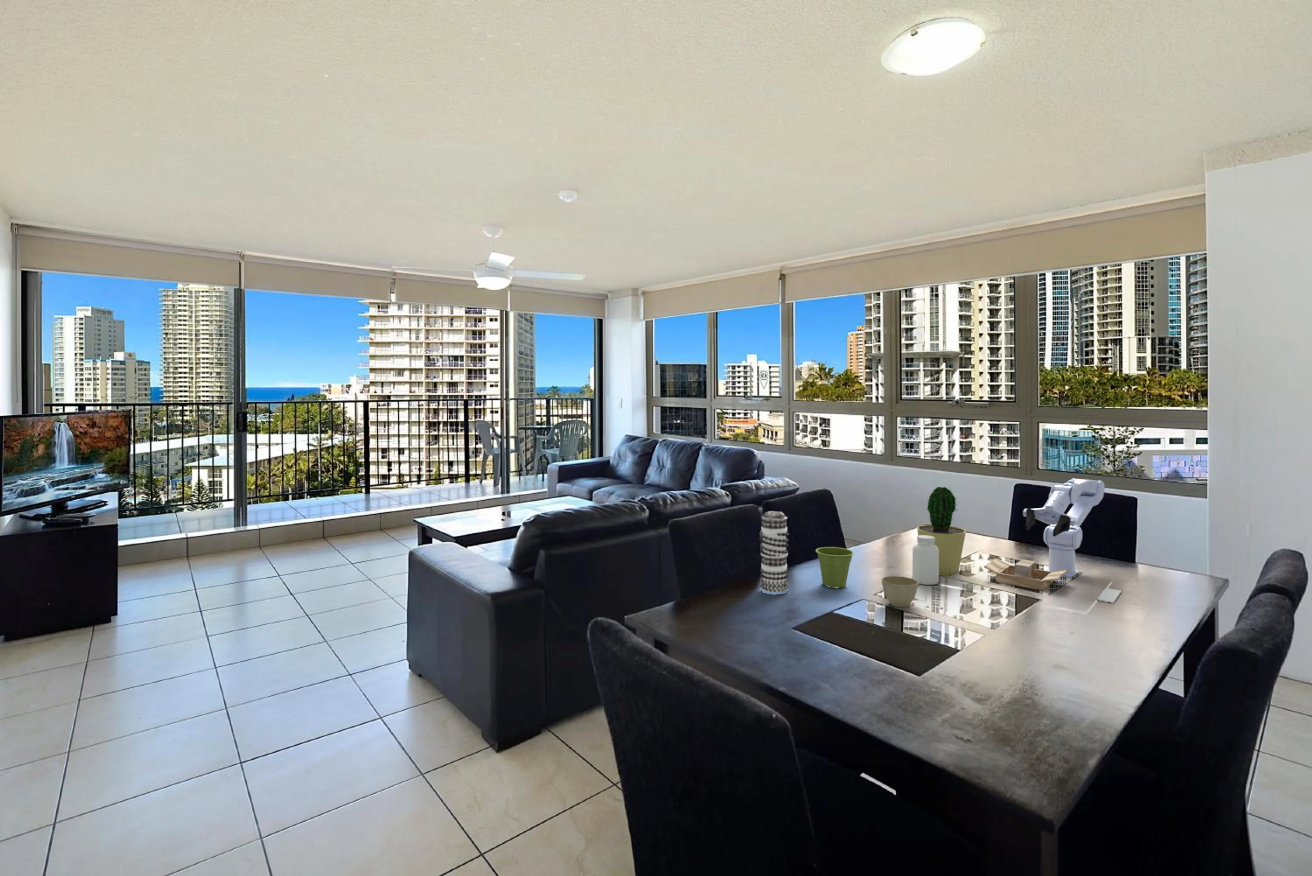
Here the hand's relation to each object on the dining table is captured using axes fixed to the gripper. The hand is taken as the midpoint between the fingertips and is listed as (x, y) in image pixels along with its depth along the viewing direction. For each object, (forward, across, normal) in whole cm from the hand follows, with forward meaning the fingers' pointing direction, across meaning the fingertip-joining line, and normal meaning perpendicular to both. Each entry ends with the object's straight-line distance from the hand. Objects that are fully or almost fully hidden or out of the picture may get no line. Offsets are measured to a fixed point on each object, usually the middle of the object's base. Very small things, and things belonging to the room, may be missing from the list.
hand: (1040, 531), depth 196 cm
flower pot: (+51, -21, -1) cm, 55 cm away
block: (+6, -3, +16) cm, 18 cm away
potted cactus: (+12, -27, +17) cm, 34 cm away
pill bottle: (+27, -26, +10) cm, 38 cm away
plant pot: (+49, -44, +2) cm, 66 cm away
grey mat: (+3, +15, +17) cm, 23 cm away
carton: (+7, -3, +17) cm, 18 cm away
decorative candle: (+67, -54, -5) cm, 86 cm away
